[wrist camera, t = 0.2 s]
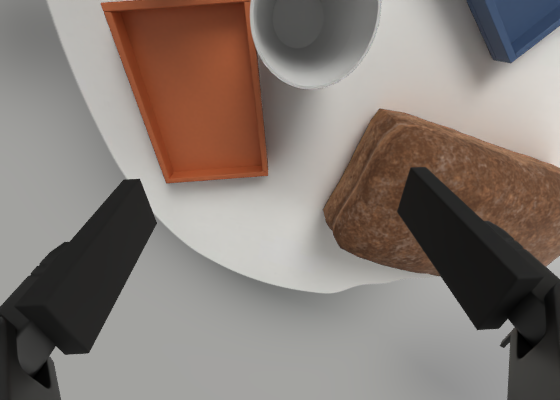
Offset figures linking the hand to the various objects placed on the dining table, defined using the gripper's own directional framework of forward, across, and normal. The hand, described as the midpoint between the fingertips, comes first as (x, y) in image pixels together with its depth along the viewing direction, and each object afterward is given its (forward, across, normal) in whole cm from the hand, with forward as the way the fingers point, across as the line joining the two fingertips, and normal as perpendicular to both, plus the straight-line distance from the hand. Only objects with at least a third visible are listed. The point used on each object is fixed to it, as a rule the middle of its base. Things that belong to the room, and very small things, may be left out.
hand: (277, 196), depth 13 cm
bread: (+19, +22, -13) cm, 32 cm away
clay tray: (+19, -7, 0) cm, 20 cm away
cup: (+19, +3, +7) cm, 20 cm away
